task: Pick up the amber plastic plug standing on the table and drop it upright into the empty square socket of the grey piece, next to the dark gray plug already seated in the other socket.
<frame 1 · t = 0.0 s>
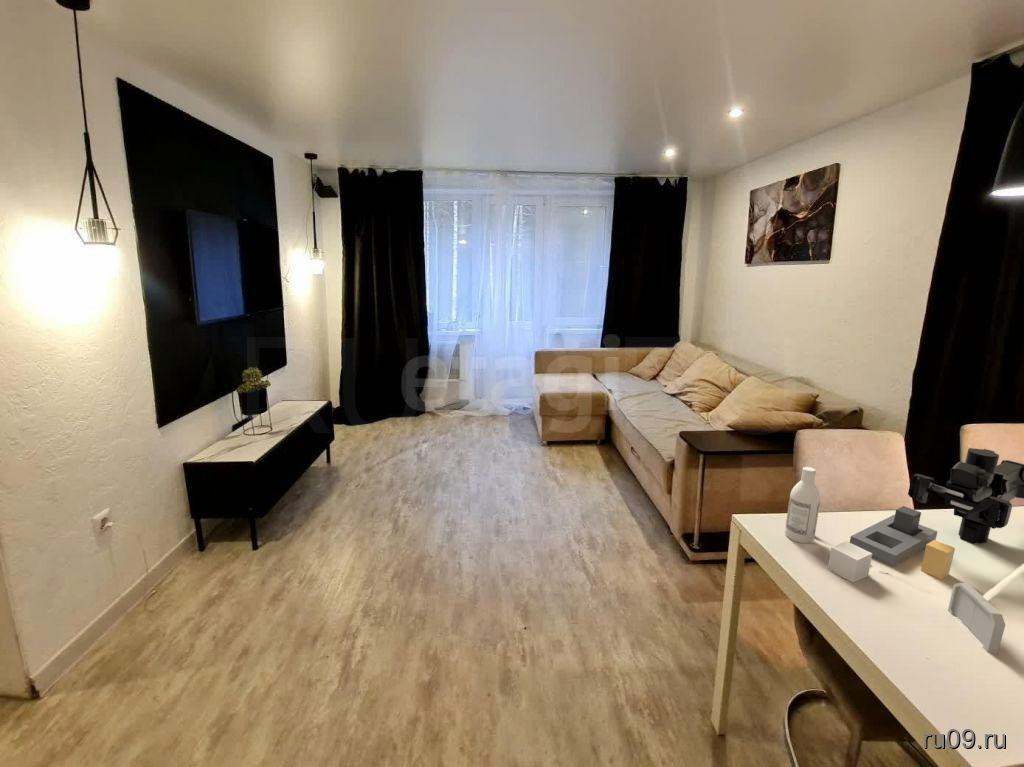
hand: (940, 507, 116), 17 cm above the table, tool horizontal, fingers open, 9 cm apart
white cube: (847, 573, 119), on the table
light switch: (970, 631, 100), on the table
amber plug: (933, 576, 118), on the table
bath foam: (799, 537, 134), on the table
grey piece: (891, 547, 129), on the table
dark gray plug: (902, 538, 132), point 1 cm above the table, touching grey piece
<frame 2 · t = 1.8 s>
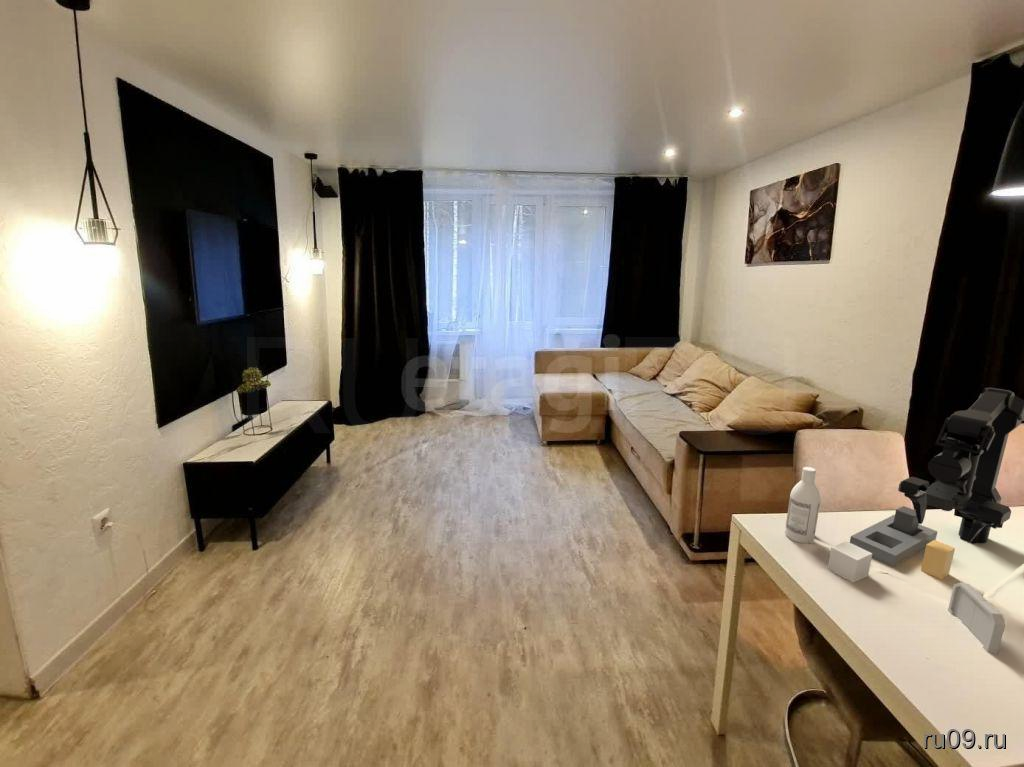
hand: (943, 532, 115), 12 cm above the table, tool pointing down, fingers open, 9 cm apart
nothing on the table moved.
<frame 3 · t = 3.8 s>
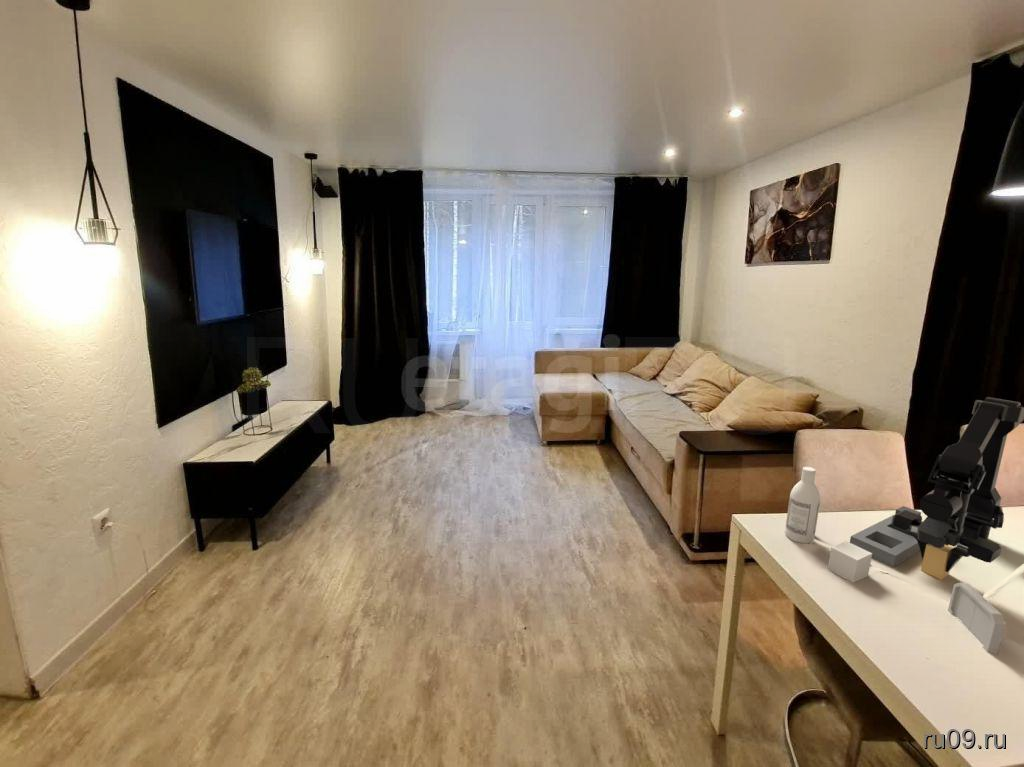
hand: (936, 566, 117), 3 cm above the table, tool pointing down, fingers closed on amber plug, 4 cm apart
amber plug: (933, 576, 118), on the table, touching gripper
everything else where it was.
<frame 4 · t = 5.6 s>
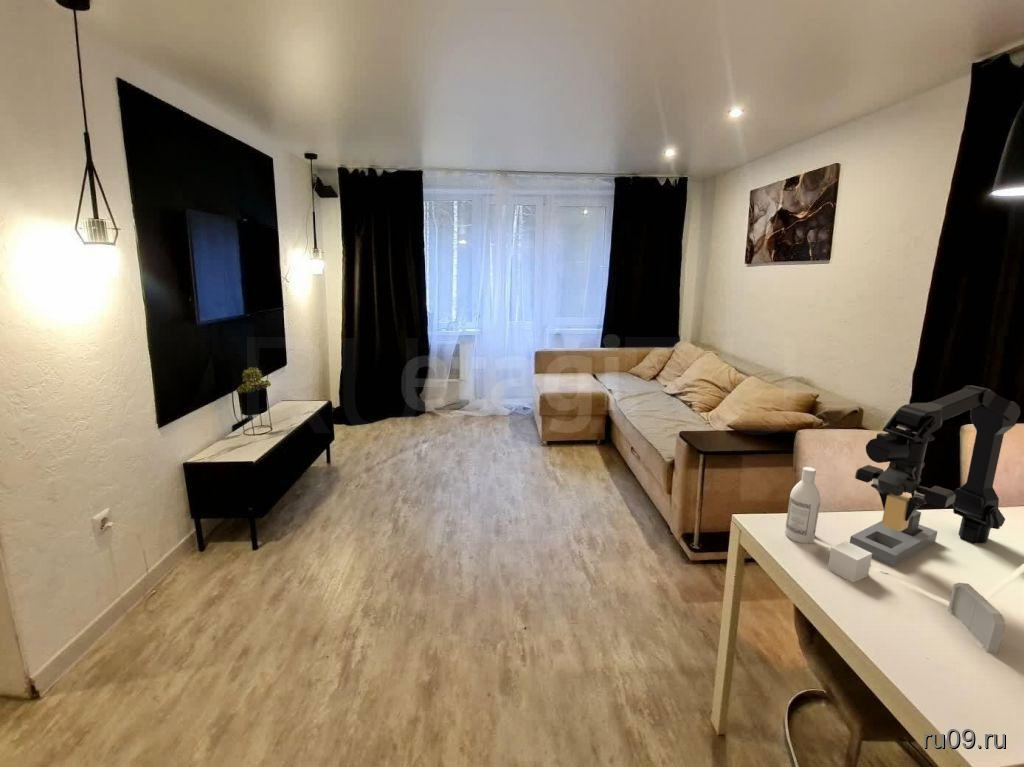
hand: (896, 516, 123), 11 cm above the table, tool pointing down, fingers closed on amber plug, 4 cm apart
amber plug: (894, 526, 123), point 9 cm above the table, touching gripper
everything else where it was.
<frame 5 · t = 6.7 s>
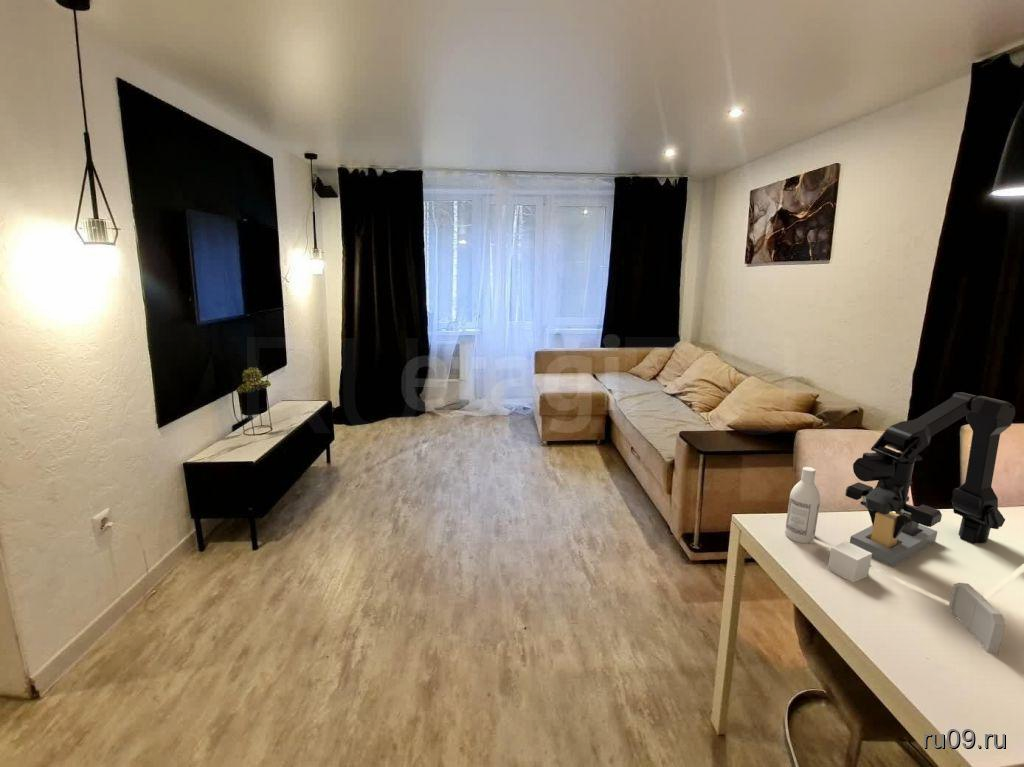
hand: (885, 533, 125), 6 cm above the table, tool pointing down, fingers closed on amber plug, 4 cm apart
amber plug: (883, 542, 126), point 3 cm above the table, touching gripper
everything else where it was.
when the fingers open (5 cm above the table, at t = 7.5 s): amber plug drops 1 cm, resting on grey piece.
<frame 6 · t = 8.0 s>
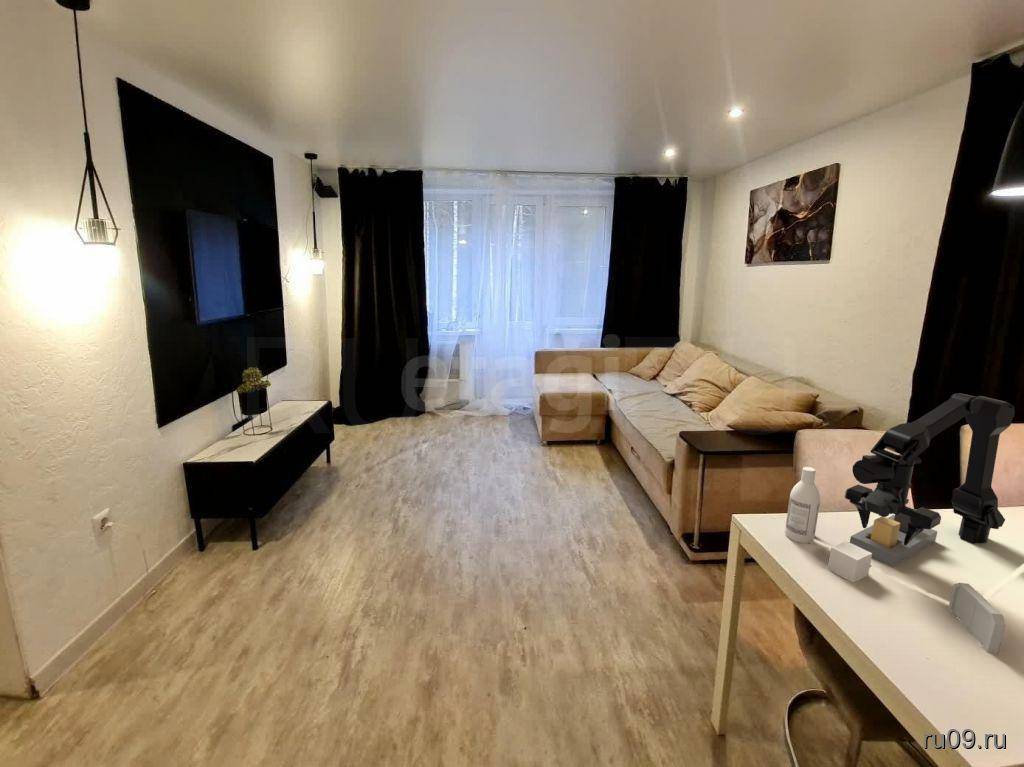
hand: (884, 536, 125), 5 cm above the table, tool pointing down, fingers open, 9 cm apart
amber plug: (881, 549, 126), point 1 cm above the table, touching grey piece
everything else where it was.
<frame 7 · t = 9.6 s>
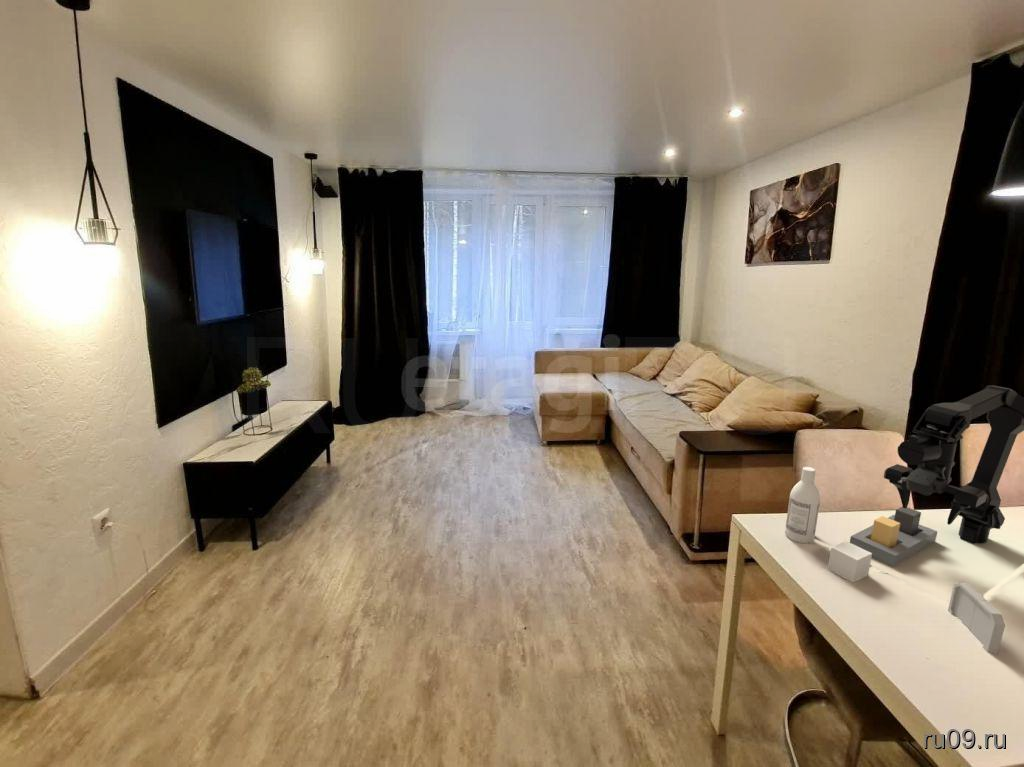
hand: (926, 515, 123), 11 cm above the table, tool pointing down, fingers open, 9 cm apart
nothing on the table moved.
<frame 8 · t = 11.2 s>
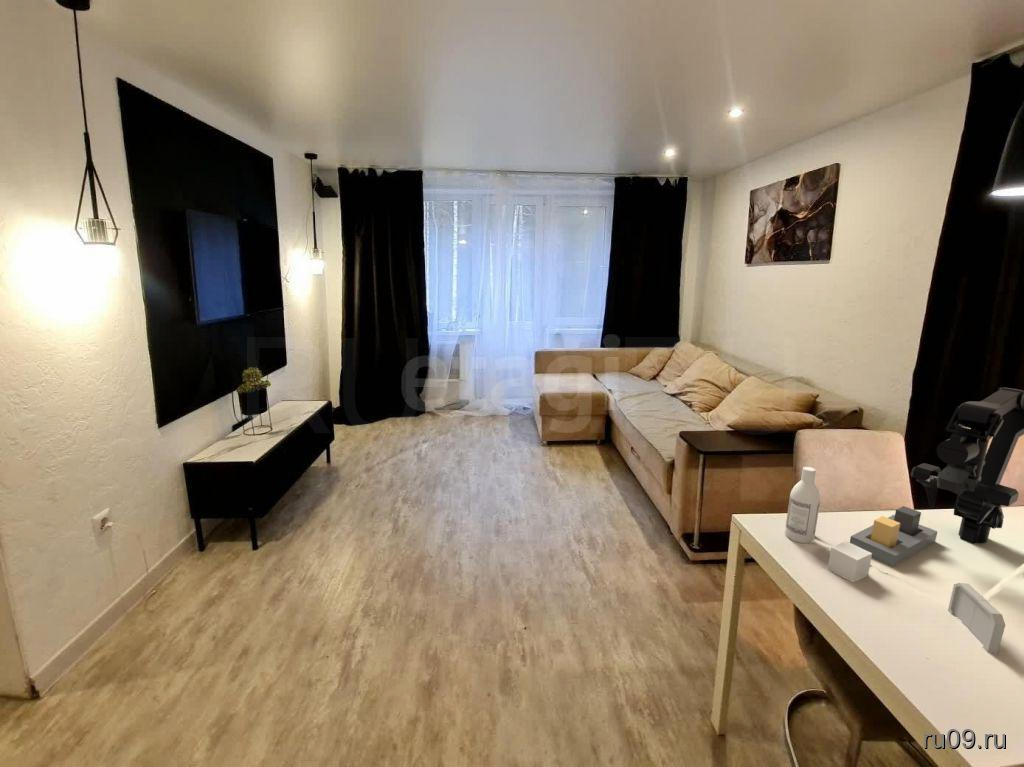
hand: (954, 515, 122), 12 cm above the table, tool pointing down, fingers open, 9 cm apart
nothing on the table moved.
at the end: amber plug 0.0 cm from the target spot on the grey piece, point 1.1 cm above the grey piece's base; amber plug tilted 0°; the gripper is holding nothing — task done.
